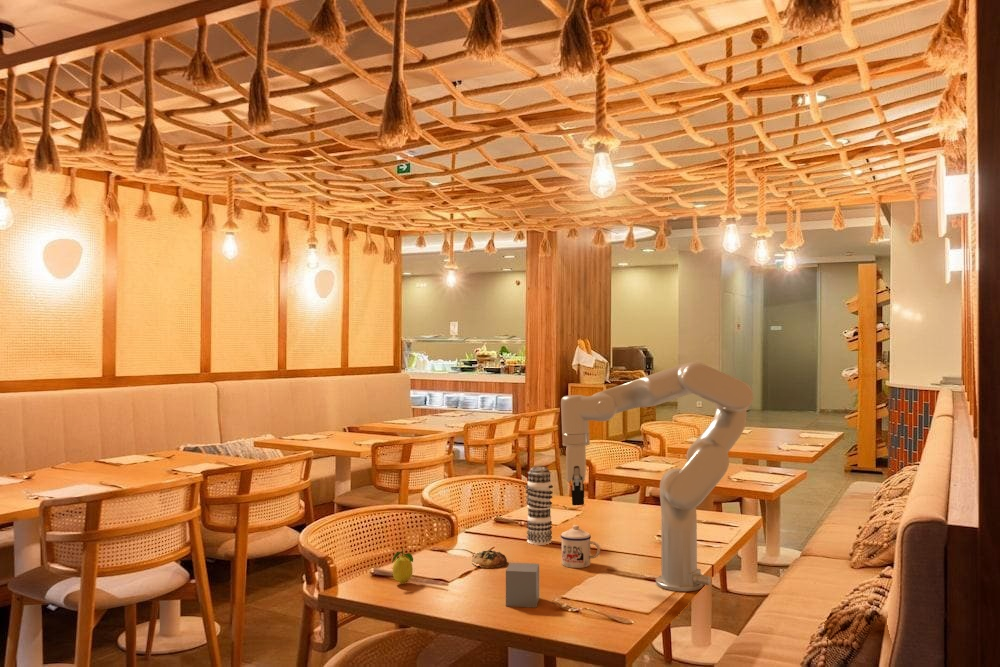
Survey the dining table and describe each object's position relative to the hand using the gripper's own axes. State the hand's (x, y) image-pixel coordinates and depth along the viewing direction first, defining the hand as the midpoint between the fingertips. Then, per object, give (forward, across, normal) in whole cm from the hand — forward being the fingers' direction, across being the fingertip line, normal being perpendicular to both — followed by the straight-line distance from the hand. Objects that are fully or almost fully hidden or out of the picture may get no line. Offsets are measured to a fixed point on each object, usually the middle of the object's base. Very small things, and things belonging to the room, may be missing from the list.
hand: (578, 501), depth 208 cm
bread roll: (+22, -17, -28) cm, 40 cm away
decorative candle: (+22, -45, -15) cm, 53 cm away
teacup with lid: (+23, -19, -1) cm, 30 cm away
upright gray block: (+22, +17, -15) cm, 32 cm away
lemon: (+21, +6, -49) cm, 54 cm away
